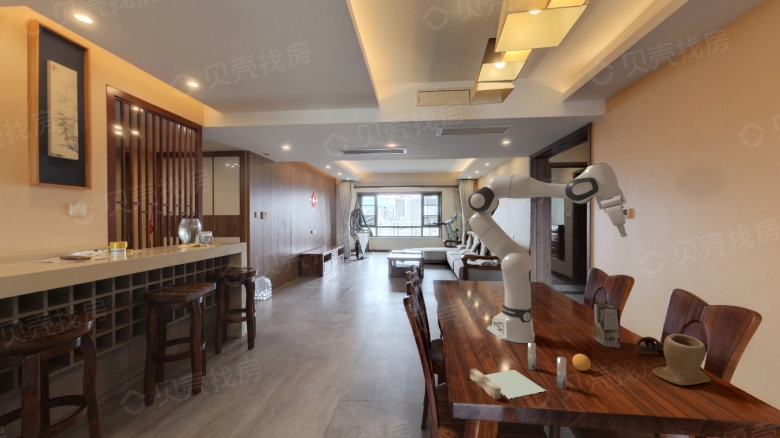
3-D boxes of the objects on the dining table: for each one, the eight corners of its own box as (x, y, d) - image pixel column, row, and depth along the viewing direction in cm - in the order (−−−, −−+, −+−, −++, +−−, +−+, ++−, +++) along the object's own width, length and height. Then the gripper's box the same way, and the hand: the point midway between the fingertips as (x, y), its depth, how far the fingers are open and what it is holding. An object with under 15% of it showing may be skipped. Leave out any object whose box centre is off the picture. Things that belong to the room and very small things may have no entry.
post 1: (526, 367, 109) (526, 342, 110) (532, 366, 110) (532, 341, 110) (531, 370, 107) (531, 345, 107) (537, 369, 108) (537, 344, 108)
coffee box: (621, 348, 127) (621, 309, 127) (604, 346, 128) (603, 308, 128) (610, 339, 136) (609, 303, 136) (594, 338, 137) (593, 302, 137)
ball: (568, 367, 109) (568, 352, 109) (580, 365, 111) (580, 350, 111) (582, 374, 104) (582, 358, 104) (594, 372, 106) (594, 356, 106)
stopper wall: (470, 378, 101) (470, 369, 102) (475, 377, 102) (475, 368, 102) (495, 399, 89) (495, 389, 89) (500, 398, 90) (500, 388, 90)
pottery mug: (676, 365, 113) (665, 346, 113) (647, 370, 117) (636, 352, 117) (663, 345, 124) (653, 328, 124) (637, 350, 128) (627, 334, 128)
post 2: (555, 385, 97) (555, 356, 98) (561, 383, 98) (561, 355, 98) (561, 389, 95) (561, 360, 95) (568, 387, 96) (568, 359, 96)
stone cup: (685, 393, 93) (685, 344, 94) (647, 374, 105) (646, 330, 105) (725, 389, 96) (725, 341, 96) (683, 370, 107) (683, 328, 108)
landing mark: (480, 376, 103) (480, 375, 103) (514, 370, 107) (514, 369, 107) (508, 399, 89) (508, 398, 89) (546, 391, 94) (546, 390, 94)
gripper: (603, 205, 129) (614, 236, 126) (600, 203, 113) (614, 239, 110) (620, 200, 125) (633, 233, 123) (621, 198, 109) (635, 235, 106)
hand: (624, 236), depth 116 cm, fingers open, 8 cm apart
